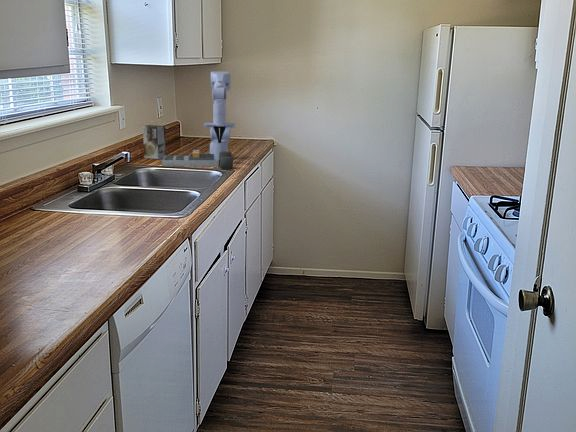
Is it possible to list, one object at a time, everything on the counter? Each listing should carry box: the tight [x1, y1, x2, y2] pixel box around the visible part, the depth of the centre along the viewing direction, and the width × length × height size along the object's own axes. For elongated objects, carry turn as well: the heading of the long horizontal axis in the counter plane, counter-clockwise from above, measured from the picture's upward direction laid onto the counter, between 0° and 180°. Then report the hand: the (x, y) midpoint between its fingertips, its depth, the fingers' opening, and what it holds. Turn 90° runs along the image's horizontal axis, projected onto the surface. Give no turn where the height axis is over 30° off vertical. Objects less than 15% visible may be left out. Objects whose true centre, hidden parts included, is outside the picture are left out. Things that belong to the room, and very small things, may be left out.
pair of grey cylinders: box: [219, 151, 234, 170], centre depth 275 cm, size 6×21×5 cm, turn 8°
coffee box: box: [142, 124, 167, 160], centre depth 290 cm, size 9×6×16 cm
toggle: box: [192, 151, 200, 158], centre depth 273 cm, size 3×4×3 cm
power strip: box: [161, 149, 220, 168], centre depth 276 cm, size 26×13×6 cm, turn 98°
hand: (219, 142), depth 275 cm, fingers closed
